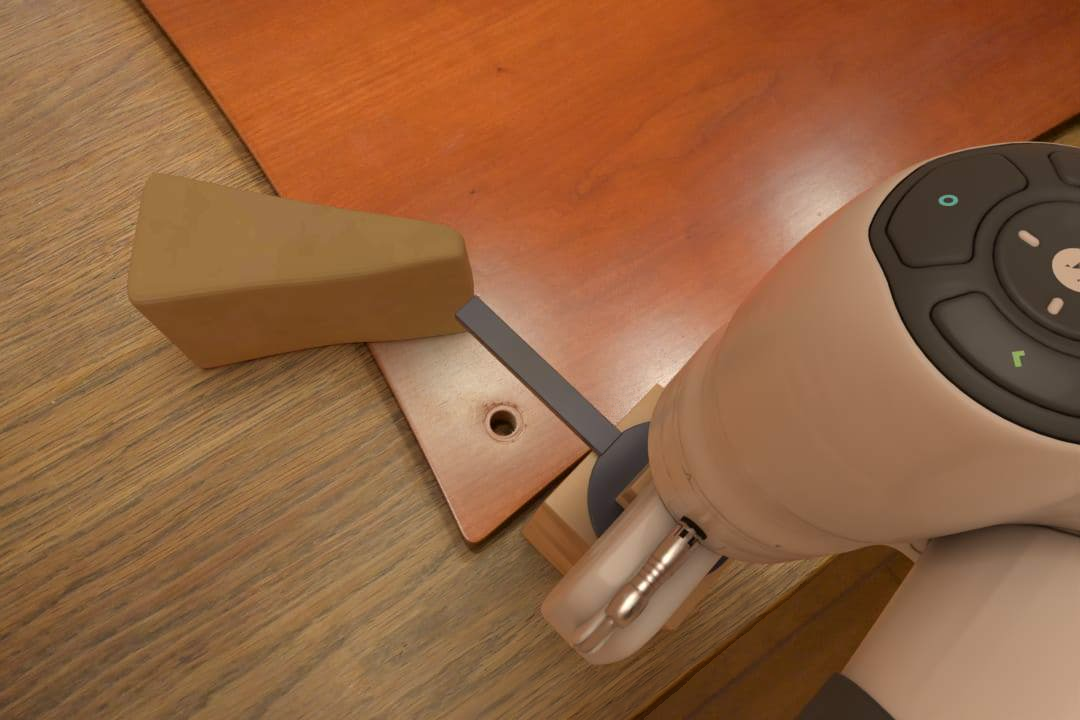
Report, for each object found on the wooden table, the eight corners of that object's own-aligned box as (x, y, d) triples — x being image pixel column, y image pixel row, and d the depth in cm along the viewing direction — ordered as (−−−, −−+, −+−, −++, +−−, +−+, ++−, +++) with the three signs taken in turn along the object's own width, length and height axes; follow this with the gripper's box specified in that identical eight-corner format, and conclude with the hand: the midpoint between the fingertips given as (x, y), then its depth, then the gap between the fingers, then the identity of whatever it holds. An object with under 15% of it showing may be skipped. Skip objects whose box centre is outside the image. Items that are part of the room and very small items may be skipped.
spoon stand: (696, 530, 62) (790, 497, 45) (613, 626, 60) (679, 631, 42) (506, 349, 66) (523, 251, 48) (418, 432, 63) (402, 360, 45)
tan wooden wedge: (474, 270, 68) (477, 178, 53) (471, 377, 65) (474, 311, 50) (209, 260, 66) (140, 162, 51) (194, 371, 62) (116, 299, 48)
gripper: (655, 722, 26) (590, 686, 39) (974, 327, 32) (825, 410, 45) (522, 587, 27) (501, 596, 40) (855, 227, 33) (743, 337, 46)
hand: (675, 495), depth 43 cm, fingers closed on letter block, 4 cm apart
